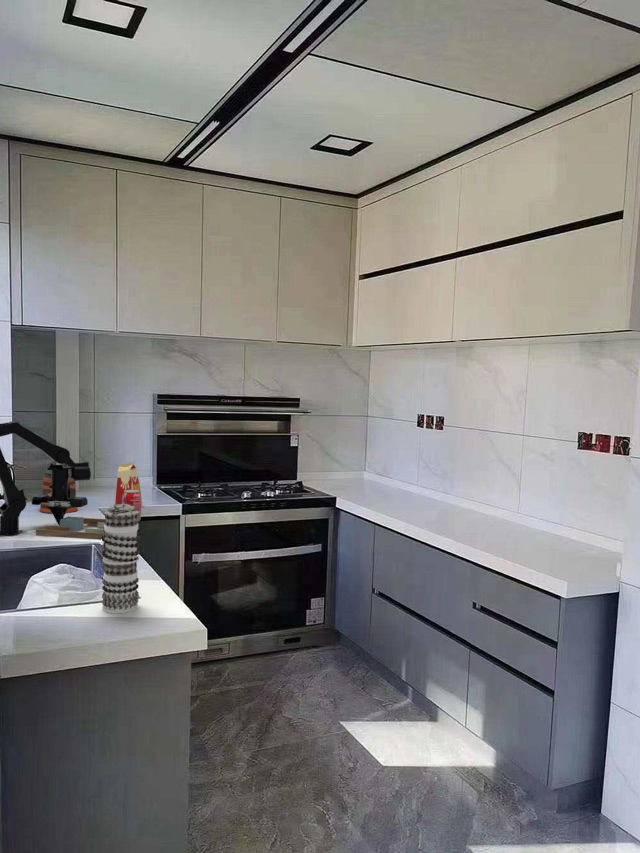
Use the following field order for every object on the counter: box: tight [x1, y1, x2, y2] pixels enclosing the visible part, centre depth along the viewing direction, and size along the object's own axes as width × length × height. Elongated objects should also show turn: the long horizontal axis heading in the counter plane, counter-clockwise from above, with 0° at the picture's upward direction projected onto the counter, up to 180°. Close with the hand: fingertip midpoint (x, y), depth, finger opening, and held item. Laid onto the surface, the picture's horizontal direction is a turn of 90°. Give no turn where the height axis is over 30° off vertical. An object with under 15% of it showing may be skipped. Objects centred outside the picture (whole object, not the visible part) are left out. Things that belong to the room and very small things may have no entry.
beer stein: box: [39, 463, 79, 515], centre depth 284 cm, size 19×15×20 cm
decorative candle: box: [101, 503, 142, 614], centre depth 166 cm, size 9×9×25 cm
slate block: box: [60, 516, 85, 532], centre depth 248 cm, size 6×6×4 cm
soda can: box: [122, 490, 142, 523], centre depth 265 cm, size 7×7×12 cm
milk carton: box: [114, 461, 144, 509], centre depth 291 cm, size 9×9×20 cm
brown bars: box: [35, 517, 106, 540], centre depth 247 cm, size 23×26×3 cm
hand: (59, 524), depth 249 cm, fingers closed
